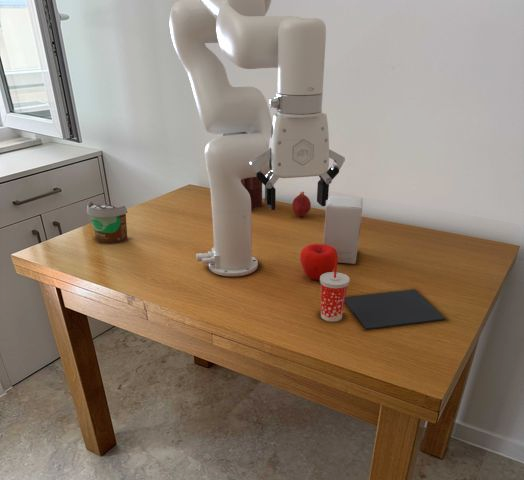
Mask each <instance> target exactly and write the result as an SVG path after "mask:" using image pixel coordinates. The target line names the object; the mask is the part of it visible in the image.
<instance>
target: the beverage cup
mask: <svg viewBox="0 0 524 480" xmlns="http://www.w3.org/2000/svg"><path fill="white" fill-rule="evenodd" d="M337 260H338V255H336V256H335V267H334V270H333V271H332V272H328V273H324V274H322V275H321V276H320V280H319V283H320V317H321V319H323V320H324V321H326V322H332V323H333V322H338V321H341V320H342V319H343V313H344V309H345V304H346V303H345V297H347V292H348V291H347V290H348V286H349V285H350V277H349V276H348V275H347V274H345V273H342V272H339V271H338V262H337ZM337 271H338V272H337Z"/></svg>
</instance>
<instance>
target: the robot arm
mask: <svg viewBox="0 0 524 480" xmlns="http://www.w3.org/2000/svg"><path fill="white" fill-rule="evenodd" d="M271 3H272V0H177V1H176V2H174V4H173V5H172V6H171V9H170V11H169V31H170V36H171V41H172V44H173V47H174V50H175V52H176V53H175V54H176V55H177V57H178V59H179V61H180V62H181V65H182V66H183V69H184V70H185V72H186V74H187V77H188V79H189V82H190V87H191V91H192V94H193V98H194V101H195V105H196V109H197V112H198V116H199V120H200V122H201V125H202V127H203V128H204V130H205V131H206V132H207V133H209V134H212V135H220V136H218V137H214V138H213V139H211V140H210V141H208V142H207V143H206V145H205V148H204V156H203V157H204V163H205V168H206V171H207V172H206V173H207V177H208V182H209V191H210V203H211V217H212V219H211V220H212V236H213V237H212V238H213V239H212V240H213V247H211V251H210V250H209V251H207V252H204V253H201V252H200V253H195V260H196V262H201V263H202V265H205V264H207V265H208V269H209V270H210V271H211V272H212V273H213V274H216V275H219V276H221V277H222V276H223V277H232V278H233V277H242V276H246V275H249V274H252V273H254V272H255V271H256V270H257V269H258V268H259V267H258V266H259V261H258V259H257V258H255V256H253V247H252V244H253V242H252V241H253V239H252V238H253V235H252V233H253V232H252V231H253V230H252V210H251V198H250V194H249V193H248V191H247V190H246V189H245V187H244V186H243V185H242V183H241V180H242V179H245V178H250V177H257V178H258V179H259V180H260V181H261V182H262V185H264V203H265V205H266V206H267V207H268V208H269V210H270V211H275V210H276V195H277V194H276V187H275V184H276V183H277V181H278V180H279V179H293V178H294V179H295V178H309V177H319V179H318V181H317V188H316V189H317V190H316V202H317V203H318V205H320V206H321V207H326V205H327V201H328V199H329V190H330V185H332V183H333V180H334V179H335V178H336V177H337V176H338V174H339V173H340V170H341V168H342V167H343V165H344V163H345V160H346V158H345V156H343V155H341V154H340V153H337V152H336V151H333V150H332V149H330V137H329V123H328V122H329V121H328V115H327V113H325V112H323V95H324V94H323V92H324V79H325V78H324V77H325V76H324V75H325V58H326V41H327V39H326V38H327V28H326V24H325V22H324V20H323V19H321V18H317V17H300V16H291V15H285V16H284V15H283V16H281V15H280V16H278V15H267V13H268V11H269V9H270V6H271ZM206 44H218V45H219V48H220V51H221V52H222V53H223V55H225V57H226V58H227V59H228V60H229V61H230V62H231V63H232V64H234V65H235V66H236V67H238V68H241V69H243V70H244V69H245V70H256V69H257V70H258V69H274V68H275V69H277V92H276V95H275V97H273V98H269V100H268V102H267V99H266V96H265V95H264V94H263V93H262V91H261V90H260V89H259V88H257V87H254V86H232V85H231V84H230V81H229V79H228V73H227V71H226V67H225V65H224V64H223V62H222V61H221V60H220V58H219V57H218V56H217V55H216V54H215V53H214V52H213V51H212V50H211V49H209V47H207V46H206ZM270 108H273V109H275V110H276V111H277V113H274V114H273V116H272V115H271V112H270ZM237 132H247V133H248V134H237V135H227V136H223V134H226V133H237ZM330 159H331V160H333V163H332V166H330ZM329 167H330V168H329Z"/></svg>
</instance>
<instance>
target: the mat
mask: <svg viewBox="0 0 524 480" xmlns="http://www.w3.org/2000/svg"><path fill="white" fill-rule="evenodd" d="M344 304H345V305H346V306H347V307H348V309H349V310H350V311H351V313H352V314H353V315H354V317H355V318H356V319H357V321H358V322H359V323H360V324H361V326H362V327H363V328H364V329H365V330H367V331H369V330H375V329H383V328H392V327H401V326H409V325H416V324H424V323H431V322H441V321H445V320H446V318H445V317H444V316H443V314H441V313H440V312H439V311H438V310H437V309H436V308H435V307H434V306H433V305H431V303H430V302H429V301H427V299H425V298H424V297H423V296H422V295H421V294H420V293H419V292H418V291H417V290H416V289H406V290H399V291H398V290H397V291H389V292H379V293H370V294H360V295H353V296H346V297H345V303H344Z"/></svg>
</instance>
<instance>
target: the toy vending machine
mask: <svg viewBox="0 0 524 480" xmlns="http://www.w3.org/2000/svg"><path fill="white" fill-rule="evenodd" d="M237 134H248V133H247V132H237V133H226V134H222V136H227V135H237ZM241 183H242V185H243V186H244V187H245V189H246V190H247V191H248V193H249V194H250V198H251V211H252V210H254V209H258V208H260V207H262V206H263V183H262V182H261V181H260V180H259V179H258V178H257V177H250V178H245V179H242V180H241Z"/></svg>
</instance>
